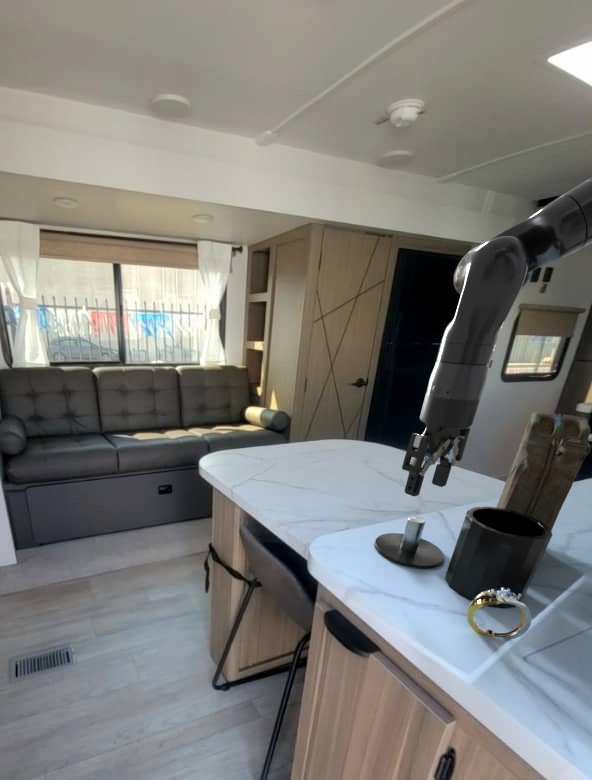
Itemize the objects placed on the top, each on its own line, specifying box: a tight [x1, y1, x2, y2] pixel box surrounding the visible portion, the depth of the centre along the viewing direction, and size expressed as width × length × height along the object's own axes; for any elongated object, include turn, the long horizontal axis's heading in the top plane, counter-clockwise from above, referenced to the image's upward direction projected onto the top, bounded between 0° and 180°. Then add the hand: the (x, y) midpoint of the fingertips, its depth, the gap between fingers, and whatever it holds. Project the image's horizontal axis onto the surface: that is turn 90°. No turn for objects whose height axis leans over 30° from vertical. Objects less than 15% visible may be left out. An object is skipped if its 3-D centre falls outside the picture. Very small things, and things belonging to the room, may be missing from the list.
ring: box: [466, 587, 532, 642], centre depth 54 cm, size 7×3×8 cm, turn 62°
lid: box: [374, 515, 445, 570], centre depth 74 cm, size 12×12×7 cm
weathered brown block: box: [495, 411, 592, 531], centre depth 72 cm, size 19×8×25 cm, turn 143°
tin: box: [444, 506, 553, 610], centre depth 63 cm, size 11×11×12 cm
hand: (425, 489), depth 70 cm, fingers open, 8 cm apart
